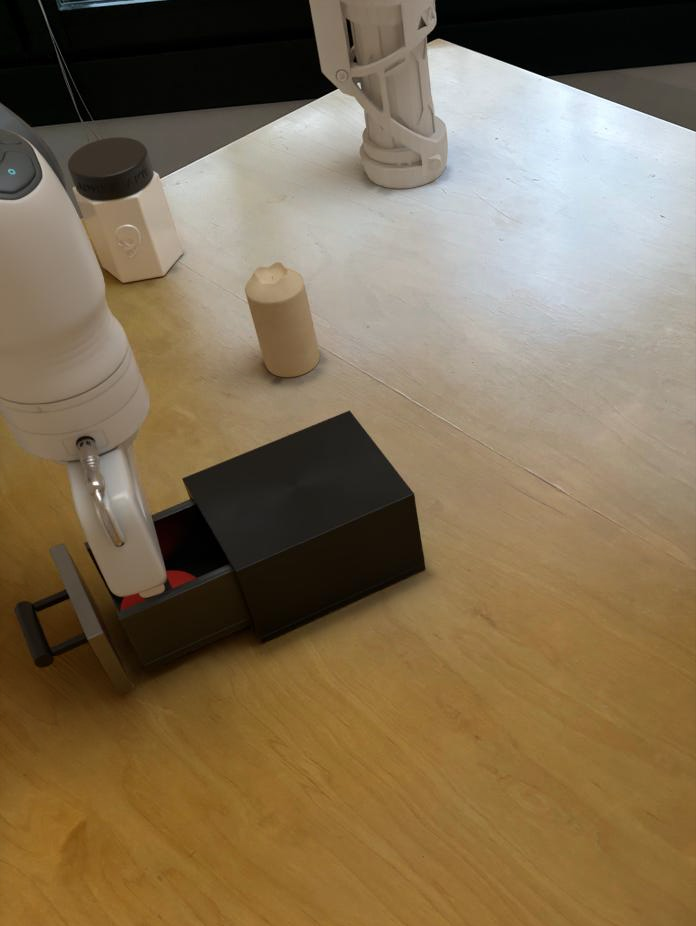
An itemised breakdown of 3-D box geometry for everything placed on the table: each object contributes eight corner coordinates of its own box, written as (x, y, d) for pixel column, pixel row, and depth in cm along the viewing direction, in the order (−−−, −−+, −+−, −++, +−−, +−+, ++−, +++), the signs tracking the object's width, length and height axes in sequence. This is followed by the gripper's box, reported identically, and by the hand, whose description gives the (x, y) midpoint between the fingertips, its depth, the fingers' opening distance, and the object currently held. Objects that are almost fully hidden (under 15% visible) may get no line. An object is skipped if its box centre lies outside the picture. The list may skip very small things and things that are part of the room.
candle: (255, 372, 106) (230, 283, 98) (281, 339, 109) (259, 250, 101) (304, 382, 104) (283, 293, 96) (329, 348, 107) (311, 259, 99)
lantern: (447, 141, 131) (425, -95, 111) (452, 185, 125) (430, -57, 105) (341, 152, 131) (301, -82, 112) (341, 197, 125) (298, -43, 105)
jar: (102, 289, 116) (61, 183, 107) (103, 248, 121) (63, 144, 112) (184, 274, 117) (151, 168, 107) (182, 234, 122) (149, 130, 112)
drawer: (65, 719, 80) (29, 665, 74) (29, 627, 86) (-7, 570, 80) (282, 620, 84) (263, 562, 79) (235, 539, 90) (214, 480, 85)
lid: (129, 651, 82) (112, 620, 79) (118, 590, 86) (102, 558, 83) (214, 626, 83) (200, 594, 80) (199, 567, 87) (186, 534, 84)
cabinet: (262, 644, 84) (235, 571, 77) (210, 552, 91) (181, 478, 84) (426, 569, 88) (414, 493, 81) (365, 486, 94) (349, 409, 88)
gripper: (150, 485, 63) (212, 632, 74) (100, 298, 75) (159, 448, 86) (42, 517, 62) (120, 661, 72) (8, 322, 74) (80, 470, 85)
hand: (141, 544), depth 79 cm, fingers open, 8 cm apart
